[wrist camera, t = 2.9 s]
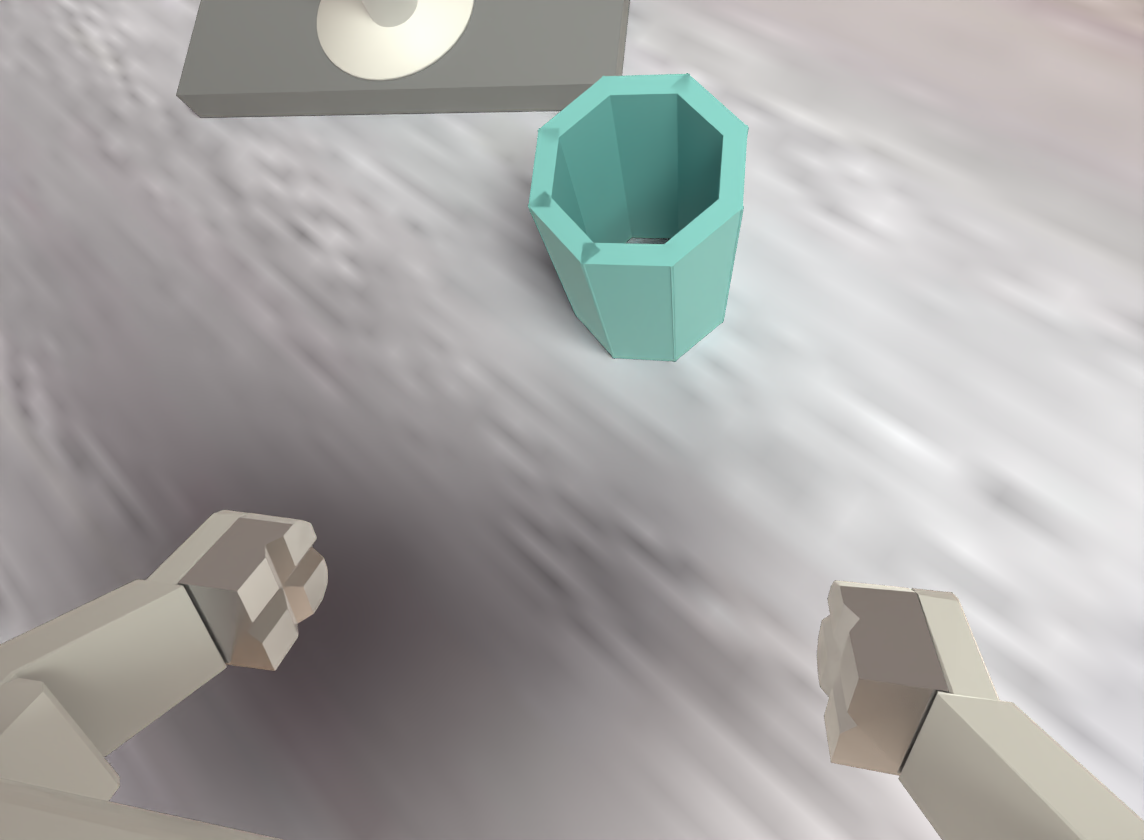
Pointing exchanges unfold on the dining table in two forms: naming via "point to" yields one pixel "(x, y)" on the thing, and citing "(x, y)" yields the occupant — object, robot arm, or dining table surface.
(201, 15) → the post stand
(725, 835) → the dining table surface
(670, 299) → the collar
